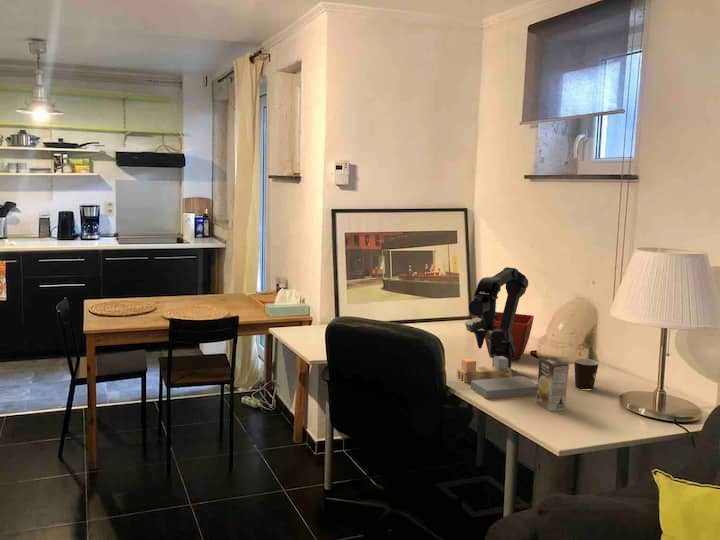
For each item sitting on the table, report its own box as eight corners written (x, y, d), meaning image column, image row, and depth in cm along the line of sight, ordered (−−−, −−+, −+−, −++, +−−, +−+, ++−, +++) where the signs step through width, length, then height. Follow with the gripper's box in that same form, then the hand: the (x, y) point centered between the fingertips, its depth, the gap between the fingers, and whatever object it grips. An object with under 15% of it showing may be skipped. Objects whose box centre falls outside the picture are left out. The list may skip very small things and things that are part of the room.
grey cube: (502, 366, 267) (502, 356, 267) (507, 368, 264) (508, 358, 263) (493, 366, 266) (493, 356, 265) (498, 369, 262) (498, 359, 262)
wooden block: (502, 374, 269) (503, 365, 269) (511, 379, 263) (511, 369, 263) (456, 378, 263) (457, 368, 262) (464, 383, 257) (464, 373, 256)
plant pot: (479, 357, 292) (481, 319, 290) (488, 347, 310) (490, 310, 307) (525, 363, 285) (527, 324, 283) (531, 352, 303) (534, 315, 300)
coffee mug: (584, 392, 249) (586, 366, 248) (567, 385, 257) (569, 359, 255) (607, 388, 255) (609, 362, 253) (589, 382, 262) (592, 356, 261)
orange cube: (470, 368, 263) (471, 358, 262) (475, 371, 259) (476, 361, 259) (461, 369, 262) (461, 358, 261) (466, 372, 258) (466, 361, 257)
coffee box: (535, 402, 237) (538, 357, 235) (551, 401, 239) (554, 356, 236) (549, 411, 228) (552, 365, 226) (566, 410, 230) (569, 364, 228)
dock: (522, 384, 257) (523, 376, 257) (540, 394, 246) (541, 386, 246) (470, 388, 250) (470, 380, 250) (486, 399, 239) (486, 390, 239)
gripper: (457, 307, 266) (455, 346, 268) (480, 317, 248) (478, 359, 250) (483, 306, 269) (481, 344, 271) (507, 316, 252) (505, 357, 254)
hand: (485, 351), depth 262 cm, fingers open, 9 cm apart
